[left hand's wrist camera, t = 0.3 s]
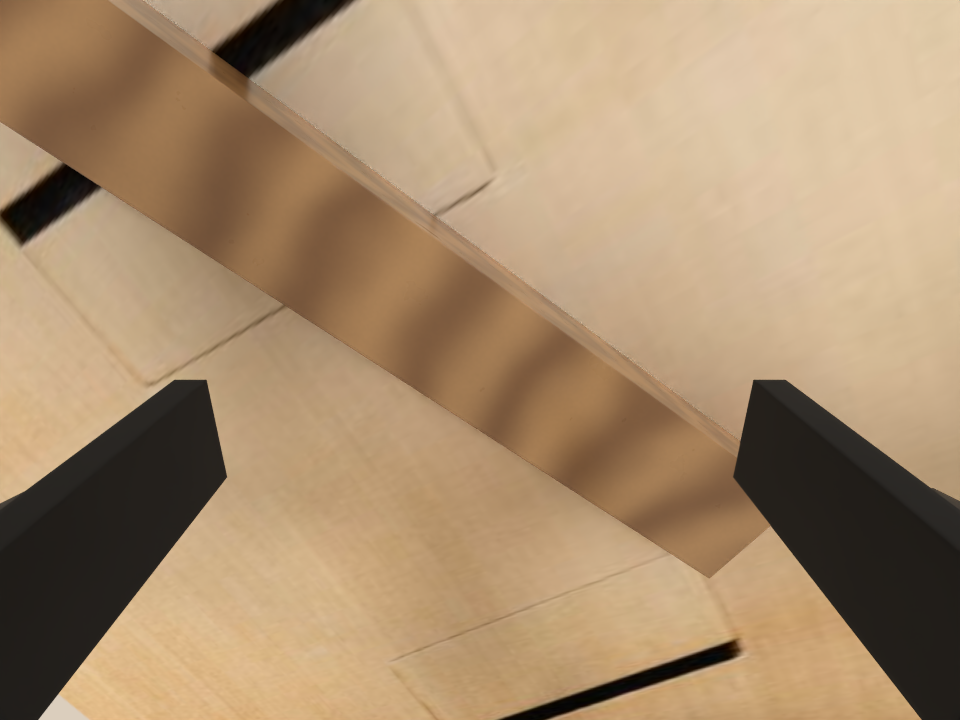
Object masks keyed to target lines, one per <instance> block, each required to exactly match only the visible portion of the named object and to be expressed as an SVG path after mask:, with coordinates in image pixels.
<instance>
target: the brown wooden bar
mask: <svg viewBox="0 0 960 720" xmlns="http://www.w3.org/2000/svg"><path fill="white" fill-rule="evenodd" d="M0 122H1V123H3V124H5V125H6V126H8V127H9V128H11V129H12V130H14V131H15V132H17V133H19V134H20V135H22V136H23V137H25V138H26V139H28V140H29V141H31V142H33V143H34V144H36V145H37V146H39V147H40V148H42V149H43V150H45V151H46V152H48V153H50V154H51V155H53V156H54V157H56V158H57V159H59V160H60V161H62V162H64V163H65V164H67V165H68V166H70V167H71V168H73V169H74V170H76V171H78V172H79V173H81V174H82V175H84V176H85V177H87V178H88V179H90V180H92V181H93V182H95V183H96V184H98V185H99V186H101V187H102V188H104V189H105V190H107V191H109V192H110V193H112V194H113V195H115V196H116V197H118V198H119V199H121V200H123V201H124V202H126V203H127V204H129V205H130V206H132V207H133V208H135V209H137V210H138V211H140V212H141V213H143V214H144V215H146V216H147V217H149V218H151V219H152V220H154V221H155V222H157V223H158V224H160V225H161V226H163V227H164V228H166V229H168V230H169V231H171V232H172V233H174V234H175V235H177V236H178V237H180V238H182V239H183V240H185V241H186V242H188V243H189V244H191V245H192V246H194V247H196V248H197V249H199V250H200V251H202V252H203V253H205V254H206V255H208V256H210V257H211V258H213V259H214V260H216V261H217V262H219V263H220V264H222V265H223V266H225V267H227V268H228V269H230V270H231V271H233V272H234V273H236V274H237V275H239V276H241V277H242V278H244V279H245V280H247V281H248V282H250V283H251V284H253V285H255V286H256V287H258V288H259V289H261V290H262V291H264V292H265V293H267V294H269V295H270V296H272V297H273V298H275V299H276V300H278V301H279V302H281V303H282V304H284V305H286V306H287V307H289V308H290V309H292V310H293V311H295V312H296V313H298V314H300V315H301V316H303V317H304V318H306V319H307V320H309V321H310V322H312V323H314V324H315V325H317V326H318V327H320V328H321V329H323V330H324V331H326V332H328V333H329V334H331V335H332V336H334V337H335V338H337V339H338V340H340V341H341V342H343V343H345V344H346V345H348V346H349V347H351V348H352V349H354V350H355V351H357V352H359V353H360V354H362V355H363V356H365V357H366V358H368V359H369V360H371V361H373V362H374V363H376V364H377V365H379V366H380V367H382V368H383V369H385V370H387V371H388V372H390V373H391V374H393V375H394V376H396V377H397V378H399V379H400V380H402V381H404V382H405V383H407V384H408V385H410V386H411V387H413V388H414V389H416V390H418V391H419V392H421V393H422V394H424V395H425V396H427V397H428V398H430V399H432V400H433V401H435V402H436V403H438V404H439V405H441V406H442V407H444V408H446V409H447V410H449V411H450V412H452V413H453V414H455V415H456V416H458V417H459V418H461V419H463V420H464V421H466V422H467V423H469V424H470V425H472V426H473V427H475V428H477V429H478V430H480V431H481V432H483V433H484V434H486V435H487V436H489V437H491V438H492V439H494V440H495V441H497V442H498V443H500V444H501V445H503V446H505V447H506V448H508V449H509V450H511V451H512V452H514V453H515V454H517V455H518V456H520V457H522V458H523V459H525V460H526V461H528V462H529V463H531V464H532V465H534V466H536V467H537V468H539V469H540V470H542V471H543V472H545V473H546V474H548V475H550V476H551V477H553V478H554V479H556V480H557V481H559V482H560V483H562V484H564V485H565V486H567V487H568V488H570V489H571V490H573V491H574V492H576V493H577V494H579V495H581V496H582V497H584V498H585V499H587V500H588V501H590V502H591V503H593V504H595V505H596V506H598V507H599V508H601V509H602V510H604V511H605V512H607V513H609V514H610V515H612V516H613V517H615V518H616V519H618V520H619V521H621V522H623V523H624V524H626V525H627V526H629V527H630V528H632V529H633V530H635V531H636V532H638V533H640V534H641V535H643V536H644V537H646V538H647V539H649V540H650V541H652V542H654V543H655V544H657V545H658V546H660V547H661V548H663V549H664V550H666V551H668V552H669V553H671V554H672V555H674V556H675V557H677V558H678V559H680V560H682V561H683V562H685V563H686V564H688V565H689V566H691V567H692V568H694V569H695V570H697V571H699V572H700V573H702V574H703V575H705V576H706V577H708V578H710V577H712V576H713V575H714V574H715V573H716V572H717V571H719V570H720V569H721V568H722V567H723V566H724V565H725V564H727V563H728V562H729V561H730V560H731V559H732V558H734V557H735V556H736V555H737V554H738V553H739V552H740V551H742V550H743V549H744V548H745V547H746V546H747V545H749V544H750V543H751V542H752V541H753V540H754V539H756V538H757V537H758V536H759V535H760V534H761V533H762V532H764V531H765V530H766V529H767V528H768V527H769V526H771V525H770V524H769V523H768V522H767V520H766V519H765V518H764V516H763V515H762V514H761V513H760V511H759V510H758V509H757V507H756V506H755V505H754V504H753V502H752V501H751V500H750V498H749V497H748V496H747V495H746V493H745V492H744V491H743V489H742V488H741V487H740V486H739V484H738V483H737V482H736V480H735V479H734V478H733V475H734V470H735V465H736V460H737V456H738V451H739V446H740V441H739V440H737V439H736V438H735V437H733V436H732V435H731V434H729V433H728V432H726V431H725V430H724V429H722V428H721V427H720V426H718V425H717V424H716V423H714V422H713V421H712V420H710V419H709V418H708V417H706V416H705V415H703V414H702V413H701V412H699V411H698V410H697V409H695V408H694V407H693V406H691V405H690V404H689V403H687V402H686V401H684V400H683V399H682V398H680V397H679V396H678V395H676V394H675V393H674V392H672V391H671V390H670V389H668V388H667V387H666V386H664V385H663V384H661V383H660V382H659V381H657V380H656V379H655V378H653V377H652V376H651V375H649V374H648V373H647V372H645V371H644V370H643V369H641V368H640V367H638V366H637V365H636V364H634V363H633V362H632V361H630V360H629V359H628V358H626V357H625V356H624V355H622V354H621V353H619V352H618V351H617V350H615V349H614V348H613V347H611V346H610V345H609V344H607V343H606V342H605V341H603V340H602V339H601V338H599V337H598V336H596V335H595V334H594V333H592V332H591V331H590V330H588V329H587V328H586V327H584V326H583V325H582V324H580V323H579V322H577V321H576V320H575V319H573V318H572V317H571V316H569V315H568V314H567V313H565V312H564V311H563V310H561V309H560V308H559V307H557V306H556V305H554V304H553V303H552V302H550V301H549V300H548V299H546V298H545V297H544V296H542V295H541V294H540V293H538V292H537V291H536V290H534V289H533V288H531V287H530V286H529V285H527V284H526V283H525V282H523V281H522V280H521V279H519V278H518V277H517V276H515V275H514V274H512V273H511V272H510V271H508V270H507V269H506V268H504V267H503V266H502V265H500V264H499V263H498V262H496V261H495V260H494V259H492V258H491V257H489V256H488V255H487V254H485V253H484V252H483V251H481V250H480V249H479V248H477V247H476V246H475V245H473V244H472V243H470V242H469V241H468V240H466V239H465V238H464V237H462V236H461V235H460V234H458V233H457V232H456V231H454V230H453V229H452V228H450V227H449V226H447V225H446V224H445V223H443V222H442V221H441V220H439V219H438V218H437V217H435V216H434V215H433V214H431V213H430V212H429V211H427V210H426V209H424V208H423V207H422V206H420V205H419V204H418V203H416V202H415V201H414V200H412V199H411V198H410V197H408V196H407V195H405V194H404V193H403V192H401V191H400V190H399V189H397V188H396V187H395V186H393V185H392V184H391V183H389V182H388V181H387V180H385V179H384V178H382V177H381V176H380V175H378V174H377V173H376V172H374V171H373V170H372V169H370V168H369V167H368V166H366V165H365V164H364V163H362V162H361V161H359V160H358V159H357V158H355V157H354V156H353V155H351V154H350V153H349V152H347V151H346V150H345V149H343V148H342V147H340V146H339V145H338V144H336V143H335V142H334V141H332V140H331V139H330V138H328V137H327V136H326V135H324V134H323V133H322V132H320V131H319V130H317V129H316V128H315V127H313V126H312V125H311V124H309V123H308V122H307V121H305V120H304V119H303V118H301V117H300V116H298V115H297V114H296V113H294V112H293V111H292V110H290V109H289V108H288V107H286V106H285V105H284V104H282V103H281V102H280V101H278V100H277V99H275V98H274V97H273V96H271V95H270V94H269V93H267V92H266V91H265V90H263V89H262V88H261V87H259V86H258V85H257V84H255V83H254V82H252V81H251V80H250V79H248V78H247V77H246V76H244V75H243V74H242V73H240V72H239V71H238V70H236V69H235V68H233V67H232V66H231V65H229V64H228V63H227V62H225V61H224V60H223V59H221V58H220V57H219V56H217V55H216V54H215V53H213V52H212V51H210V50H209V49H208V48H206V47H205V46H204V45H202V44H201V43H200V42H198V41H197V40H196V39H194V38H193V37H192V36H190V35H189V34H187V33H186V32H185V31H183V30H182V29H181V28H179V27H178V26H177V25H175V24H174V23H173V22H171V21H170V20H168V19H167V18H166V17H164V16H163V15H162V14H160V13H159V12H158V11H156V10H155V9H154V8H152V7H151V6H150V5H148V4H147V3H145V2H144V1H143V0H0Z"/></svg>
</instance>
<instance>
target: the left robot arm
mask: <svg viewBox="0 0 960 720" xmlns="http://www.w3.org/2000/svg"><path fill="white" fill-rule="evenodd" d="M226 478H227V475H226V470H225V465H224V460H223V456H222V451H221V446H220V442H219V437H218V432H217V427H216V423H215V418H214V413H213V408H212V404H211V399H210V394H209V390H208V385H207V380H174V381H172V382H171V383H170V384H168V385H167V386H166V387H164V388H163V389H162V390H160V391H159V392H158V393H156V394H155V395H154V396H152V397H151V398H150V399H148V400H147V401H146V402H144V403H143V404H142V405H140V406H139V407H137V408H136V409H135V410H133V411H132V412H131V413H129V414H128V415H127V416H125V417H124V418H123V419H121V420H120V421H119V422H117V423H116V424H115V425H113V426H112V427H111V428H109V429H108V430H107V431H105V432H104V433H103V434H101V435H100V436H99V437H97V438H96V439H95V440H93V441H92V442H91V443H89V444H88V445H87V446H85V447H84V448H82V449H81V450H80V451H78V452H77V453H76V454H74V455H73V456H72V457H70V458H69V459H68V460H66V461H65V462H64V463H62V464H61V465H60V466H58V467H57V468H56V469H54V470H53V471H52V472H50V473H49V474H48V475H46V476H45V477H44V478H42V479H41V480H40V481H38V482H37V483H36V484H34V485H33V486H32V487H30V488H29V489H27V490H26V491H25V492H23V493H21V494H19V495H17V496H14V497H12V498H10V499H8V500H6V501H4V502H2V503H0V720H38V719H39V718H40V717H41V715H42V714H43V713H44V712H45V710H46V709H47V708H48V706H49V705H50V704H51V703H52V701H53V700H54V699H55V697H56V696H57V695H58V694H59V692H60V691H61V690H62V689H63V687H64V686H65V685H66V683H67V682H68V681H69V680H70V678H71V677H72V676H73V674H74V673H75V672H76V671H77V669H78V668H79V667H80V665H81V664H82V663H83V662H84V660H85V659H86V658H87V656H88V655H89V654H90V653H91V651H92V650H93V649H94V647H95V646H96V645H97V644H98V642H99V641H100V640H101V638H102V637H103V636H104V635H105V633H106V632H107V631H108V629H109V628H110V627H111V626H112V624H113V623H114V622H115V620H116V619H117V618H118V617H119V615H120V614H121V613H122V611H123V610H124V609H125V608H126V606H127V605H128V604H129V602H130V601H131V600H132V599H133V597H134V596H135V595H136V593H137V592H138V591H139V590H140V588H141V587H142V586H143V584H144V583H145V582H146V581H147V579H148V578H149V577H150V575H151V574H152V573H153V572H154V570H155V569H156V568H157V566H158V565H159V564H160V563H161V561H162V560H163V559H164V557H165V556H166V555H167V554H168V552H169V551H170V550H171V548H172V547H173V546H174V545H175V543H176V542H177V541H178V539H179V538H180V537H181V536H182V534H183V533H184V532H185V531H186V529H187V528H188V527H189V525H190V524H191V523H192V522H193V520H194V519H195V518H196V516H197V515H198V514H199V513H200V511H201V510H202V509H203V507H204V506H205V505H206V504H207V502H208V501H209V500H210V498H211V497H212V496H213V495H214V493H215V492H216V491H217V489H218V488H219V487H220V486H221V484H222V483H223V482H224V480H225V479H226ZM733 478H734V479H735V480H736V482H737V483H738V484H739V486H740V487H741V488H742V489H743V491H744V492H745V493H746V495H747V496H748V497H749V498H750V500H751V501H752V502H753V504H754V505H755V506H756V507H757V509H758V510H759V511H760V513H761V514H762V515H763V516H764V518H765V519H766V520H767V522H768V523H769V524H770V525H771V527H772V528H773V529H774V531H775V532H776V533H777V534H778V536H779V537H780V538H781V539H782V541H783V542H784V543H785V545H786V546H787V547H788V548H789V550H790V551H791V552H792V554H793V555H794V556H795V557H796V559H797V560H798V561H799V563H800V564H801V565H802V566H803V568H804V569H805V570H806V572H807V573H808V574H809V575H810V577H811V578H812V579H813V581H814V582H815V583H816V584H817V586H818V587H819V588H820V590H821V591H822V592H823V593H824V595H825V596H826V597H827V599H828V600H829V601H830V602H831V604H832V605H833V606H834V608H835V609H836V610H837V611H838V613H839V614H840V615H841V617H842V618H843V619H844V620H845V622H846V623H847V624H848V626H849V627H850V628H851V629H852V631H853V632H854V633H855V635H856V636H857V637H858V638H859V640H860V641H861V642H862V644H863V645H864V646H865V647H866V649H867V650H868V651H869V653H870V654H871V655H872V656H873V658H874V659H875V660H876V662H877V663H878V664H879V665H880V667H881V668H882V669H883V671H884V672H885V673H886V674H887V676H888V677H889V678H890V680H891V681H892V682H893V683H894V685H895V686H896V687H897V689H898V690H899V691H900V692H901V694H902V695H903V696H904V698H905V699H906V700H907V701H908V703H909V704H910V705H911V706H912V708H913V709H914V710H915V712H916V713H917V714H918V715H919V717H920V718H921V719H922V720H960V501H958V500H956V499H954V498H952V497H950V496H948V495H946V494H944V493H942V492H940V491H938V490H936V489H934V488H930V487H928V486H927V485H926V484H924V483H923V482H922V481H920V480H919V479H918V478H916V477H915V476H914V475H912V474H911V473H910V472H908V471H907V470H906V469H904V468H903V467H902V466H900V465H899V464H898V463H896V462H895V461H894V460H892V459H891V458H890V457H888V456H887V455H886V454H884V453H883V452H882V451H880V450H879V449H878V448H876V447H875V446H873V445H872V444H871V443H869V442H868V441H867V440H865V439H864V438H863V437H861V436H860V435H859V434H857V433H856V432H855V431H853V430H852V429H851V428H849V427H848V426H847V425H845V424H844V423H843V422H841V421H840V420H839V419H837V418H836V417H835V416H833V415H832V414H831V413H829V412H828V411H827V410H825V409H824V408H823V407H821V406H820V405H818V404H817V403H816V402H814V401H813V400H812V399H810V398H809V397H808V396H806V395H805V394H804V393H802V392H801V391H800V390H798V389H797V388H796V387H794V386H793V385H792V384H790V383H789V382H788V381H786V380H753V385H752V390H751V394H750V399H749V404H748V408H747V413H746V418H745V423H744V427H743V432H742V437H741V442H740V446H739V451H738V456H737V460H736V465H735V470H734V475H733Z"/></svg>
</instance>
